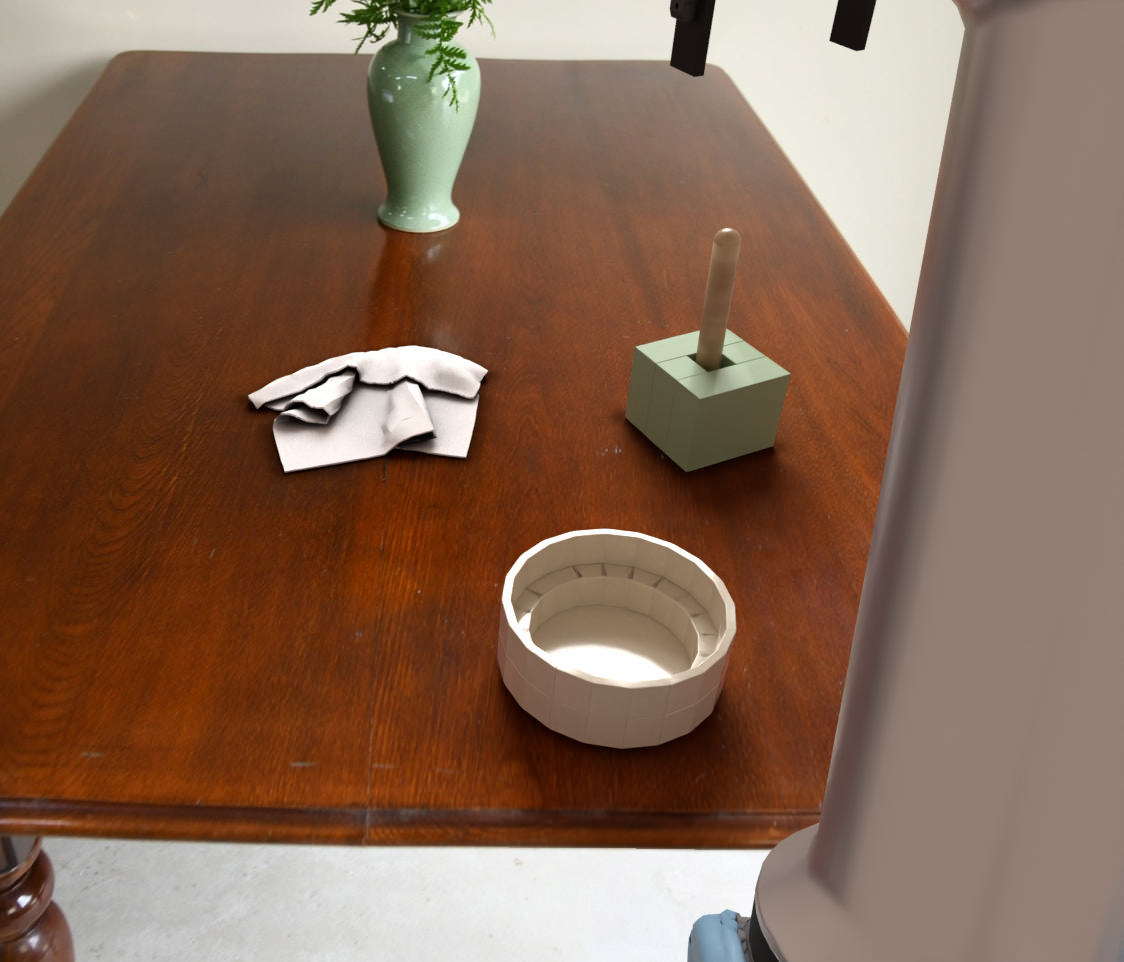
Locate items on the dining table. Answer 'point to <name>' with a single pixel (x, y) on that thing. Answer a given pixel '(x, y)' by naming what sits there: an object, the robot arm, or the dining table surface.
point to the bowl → (615, 637)
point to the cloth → (374, 406)
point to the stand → (705, 400)
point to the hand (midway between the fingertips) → (768, 58)
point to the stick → (718, 298)
